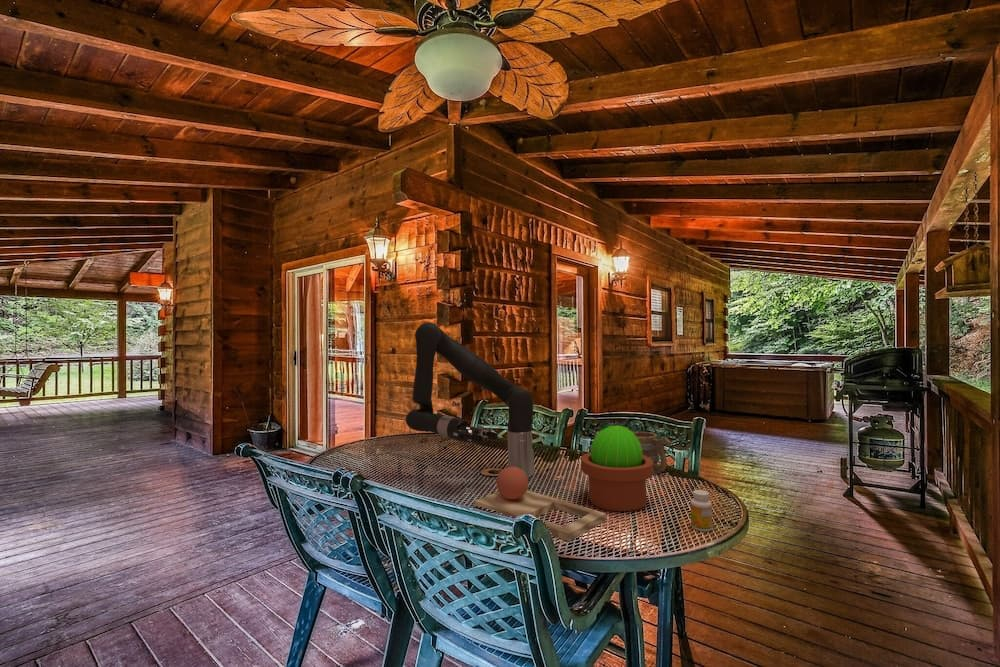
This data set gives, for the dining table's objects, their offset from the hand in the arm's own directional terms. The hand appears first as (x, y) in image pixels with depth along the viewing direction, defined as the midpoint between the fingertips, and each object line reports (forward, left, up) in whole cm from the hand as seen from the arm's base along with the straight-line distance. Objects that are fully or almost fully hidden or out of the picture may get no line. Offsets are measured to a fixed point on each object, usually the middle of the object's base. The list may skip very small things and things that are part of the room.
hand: (489, 438), depth 154 cm
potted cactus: (-23, +34, -20) cm, 45 cm away
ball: (+1, +11, -12) cm, 16 cm away
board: (+1, +21, -19) cm, 28 cm away
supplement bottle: (-21, +61, -20) cm, 67 cm away
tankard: (-58, +28, -20) cm, 67 cm away
